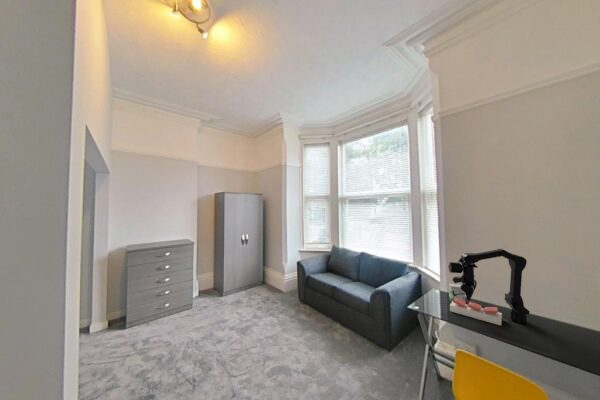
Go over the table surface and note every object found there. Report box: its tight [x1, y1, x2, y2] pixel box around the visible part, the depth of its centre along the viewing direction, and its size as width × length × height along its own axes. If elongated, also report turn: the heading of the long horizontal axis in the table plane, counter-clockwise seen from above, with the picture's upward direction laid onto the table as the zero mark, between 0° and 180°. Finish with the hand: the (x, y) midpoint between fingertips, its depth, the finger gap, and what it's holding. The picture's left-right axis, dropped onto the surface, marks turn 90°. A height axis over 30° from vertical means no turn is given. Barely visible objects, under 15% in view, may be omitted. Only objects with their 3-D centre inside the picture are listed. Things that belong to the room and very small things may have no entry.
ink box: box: [448, 283, 466, 303], centre depth 157 cm, size 9×5×12 cm, turn 73°
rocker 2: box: [467, 301, 482, 311], centre depth 138 cm, size 6×6×2 cm
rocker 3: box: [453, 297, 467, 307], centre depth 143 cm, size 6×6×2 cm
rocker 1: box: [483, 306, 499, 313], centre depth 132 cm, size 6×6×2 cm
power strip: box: [449, 301, 509, 326], centre depth 137 cm, size 28×9×4 cm, turn 44°
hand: (469, 298), depth 138 cm, fingers open, 9 cm apart
